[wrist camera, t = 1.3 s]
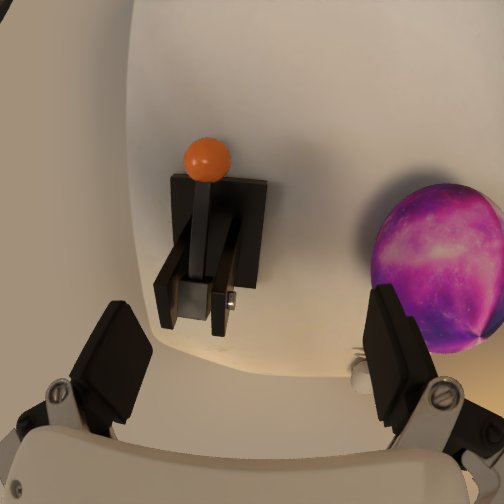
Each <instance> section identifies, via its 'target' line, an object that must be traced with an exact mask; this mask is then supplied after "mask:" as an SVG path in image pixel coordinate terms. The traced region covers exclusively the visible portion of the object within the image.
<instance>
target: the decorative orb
mask: <svg viewBox="0 0 504 504" xmlns="http://www.w3.org/2000/svg"><path fill="white" fill-rule="evenodd" d="M371 283H372V289H375V286H376V285H378V284H386V283H391V284H392V285H393V287H394V289H395V291H396V293H397V295H398V298H399V300H400V302H401V304H402V307H403V309H404V311H405V314H406V316H413V317H414V318H415V320H416V322H417V324H418V327H419V329H420V331H421V334H422V336H423V338H424V341H425V343H426V346H427V348H428V351H429V352H433V353H445V354H446V353H456V352H460V351H464V350H467V349H470V348H472V347H474V346H476V345H478V344H480V343H481V342H483V341H485V340H486V339H487V338H488V337H490V336H491V335H492V334H493V333H494V332H495V331H496V330H497V329H498V328H499V327H500V326H501V325H502V323H503V322H504V213H503V211H502V210H501V209H500V208H499V207H498V206H497V205H496V204H495V203H494V202H493V201H492V200H491V199H490V198H488V197H487V196H486V195H484V194H482V193H481V192H479V191H477V190H475V189H472V188H470V187H467V186H463V185H458V184H437V185H432V186H428V187H425V188H422V189H420V190H418V191H416V192H414V193H412V194H410V195H409V196H407V197H406V198H405V199H403V200H402V201H401V202H400V203H399V204H398V205H397V206H396V207H395V208H394V209H393V210H392V211H391V212H390V214H389V215H388V216H387V218H386V219H385V221H384V223H383V224H382V226H381V228H380V230H379V232H378V235H377V238H376V240H375V244H374V247H373V252H372V258H371Z"/></svg>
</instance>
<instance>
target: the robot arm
mask: <svg viewBox="0 0 504 504" xmlns="http://www.w3.org/2000/svg"><path fill="white" fill-rule="evenodd" d="M363 348H364V352H365V356H366V361H367V365H368V369H369V374H370V379H371V383H372V388H373V393H374V398H375V404H376V409H377V414H378V419H379V421H383V422H384V427H389V426H392V430H393V433H394V434H395V436H394V437H393V439H392V441H391V442H390V444H389V445H388V447H387V449H386V450H379V451H371V452H363V453H355V454H348V455H339V456H330V457H316V458H301V459H236V458H220V457H209V456H200V455H192V454H184V453H177V452H171V451H165V450H160V449H154V448H149V447H144V446H139V445H135V444H130V443H126V442H122V441H118V439H117V437H116V435H115V433H114V430H113V427H112V422H113V421H114V422H116V423H120V424H125V423H126V420H127V419H128V418H130V416H131V413H132V410H133V407H134V404H135V401H136V398H137V395H138V392H139V390H140V387H141V384H142V381H143V378H144V376H145V373H146V370H147V367H148V364H149V361H150V359H151V356H152V353H153V348H152V345H151V344H150V342H149V340H148V338H147V337H146V335H145V333H144V331H143V330H142V328H141V326H140V324H139V322H138V320H137V318H136V317H135V315H134V313H133V311H132V309H131V307H130V305H129V304H127V303H126V302H125V301H111V302H110V303H109V305H108V306H107V308H106V310H105V311H104V313H103V315H102V316H101V318H100V320H99V321H98V323H97V325H96V327H95V328H94V330H93V332H92V334H91V335H90V337H89V339H88V341H87V343H86V344H85V346H84V348H83V350H82V352H81V354H80V355H79V357H78V359H77V361H76V363H75V365H74V367H73V369H72V371H71V373H70V375H69V377H70V378H71V381H70V382H69V381H68V380H67V379H64V378H60V379H57V380H55V381H54V382H52V383H51V384H50V386H49V388H48V389H47V391H46V398H45V399H46V400H45V401H43V402H42V403H40V404H38V405H36V406H34V407H32V408H31V409H29V410H27V411H25V412H24V413H23V414H21V416H20V417H19V419H18V421H17V425H16V429H17V430H16V429H15V428H14V429H13V430H12V431H11V432H10V433H9V434H8V435H7V436H6V437H5V438H4V439H3V440H2V441H1V442H0V479H1V482H2V484H3V486H4V488H5V489H4V493H3V497H2V501H1V504H470V502H469V496H468V491H467V487H466V483H465V480H464V476H463V474H462V471H461V470H464V471H467V470H468V471H469V472H470V473H471V475H472V476H473V478H472V479H473V480H474V481H475V483H476V484H477V486H478V488H479V494H478V497H477V500H476V501H475V502H474V504H504V418H502V417H501V416H499V415H497V414H495V413H493V412H491V411H489V410H487V409H485V408H483V407H481V406H479V405H477V404H475V403H473V402H471V401H469V400H467V399H465V398H464V390H463V388H462V386H461V384H460V383H459V382H458V381H457V380H455V379H454V378H452V377H448V376H440V377H438V375H437V372H436V369H435V366H434V364H433V361H432V359H431V356H430V353H429V351H428V348H427V346H426V343H425V341H424V338H423V336H422V334H421V331H420V329H419V327H418V324H417V322H416V320H415V318H414V317H413V316H406V314H405V311H404V309H403V307H402V304H401V302H400V300H399V298H398V295H397V293H396V291H395V289H394V287H393V285H392V284H391V283H386V284H378V285H376V286H375V289H371V291H370V298H369V305H368V311H367V317H366V323H365V329H364V334H363Z"/></svg>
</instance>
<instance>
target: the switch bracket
mask: <svg viewBox="0 0 504 504" xmlns="http://www.w3.org/2000/svg"><path fill="white" fill-rule="evenodd" d="M170 186H171V210H172V228H173V242H174V247H173V248H172V250H171V252H170V254H169V256H168V257H167V259H166V261H165V263H164V265H163V267H162V269H161V270H160V272H159V274H158V276H157V278H156V280H155V282H154V284H153V286H154V292H155V298H156V303H157V309H158V314H159V319H160V324H161V328H165V329H171V330H173V329H174V326H175V323H176V320H177V298H178V280H179V279H180V278H182V277H183V276H184V275H185V274H187V273H188V271H189V255H190V242H191V229H192V218H193V207H194V197H195V187H196V181H195V180H193V179H192V178H191V177H190V176H189V175H188V174H173V175H172V176H171V177H170ZM266 192H267V181H264V180H255V179H244V178H232V177H223V178H222V179H221V180H219V181H217V182H215V183H213V192H212V201H211V212H210V222H209V233H208V245H207V258H206V271H205V276H213V277H214V279H213V286H212V290H211V327H212V335H213V336H220V337H225V333H226V327H227V322H228V316H229V311H230V310H234V309H235V303H236V292H234V291H233V290H234V287H243V288H253V289H256V282H257V273H258V264H259V255H260V246H261V237H262V228H263V219H264V210H265V201H266Z"/></svg>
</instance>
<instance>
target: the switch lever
mask: <svg viewBox="0 0 504 504" xmlns="http://www.w3.org/2000/svg"><path fill="white" fill-rule="evenodd" d="M230 165H231V156H230V152H229V150H228V148H227V147H226V146H225V144H224V143H222V142H221V141H219V140H217V139H214V138H202V139H199V140H197V141H195V142H193V143H192V144H191V145H190V146H189V147H188V149H187V151H186V153H185V156H184V167H185V170H186V172H187V174H188V175H189V176H190V177H191V178H192V179H193V180H195V181H196V187H195V197H194V207H193V218H192V229H191V242H190V255H189V271H188V273H187V274H185V275H184V276H183V277H182V278H180V279H179V280H178V298H177V317H183V318H190V319H197V320H204V321H206V319H207V317H208V315H209V313H210V311H211V290H212V286H213V279H214V277H213V276H205V271H206V258H207V245H208V233H209V222H210V212H211V201H212V192H213V183H215V182H217V181H219V180H221V179H222V178H223V177H224V176H225V175H226V174H227V172H228V170H229V168H230Z"/></svg>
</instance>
